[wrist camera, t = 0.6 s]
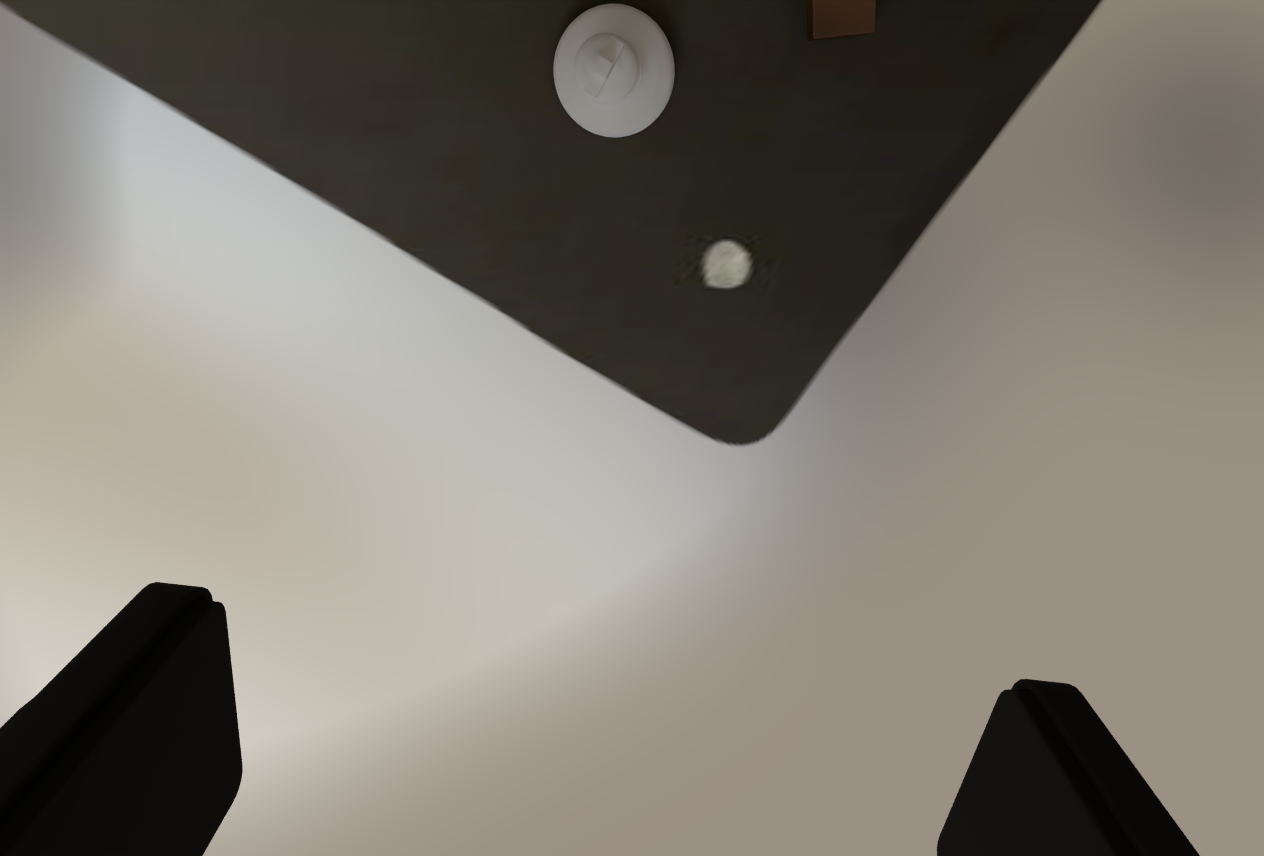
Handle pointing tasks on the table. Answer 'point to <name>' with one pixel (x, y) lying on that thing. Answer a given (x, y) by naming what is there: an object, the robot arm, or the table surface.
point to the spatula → (840, 18)
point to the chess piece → (614, 70)
